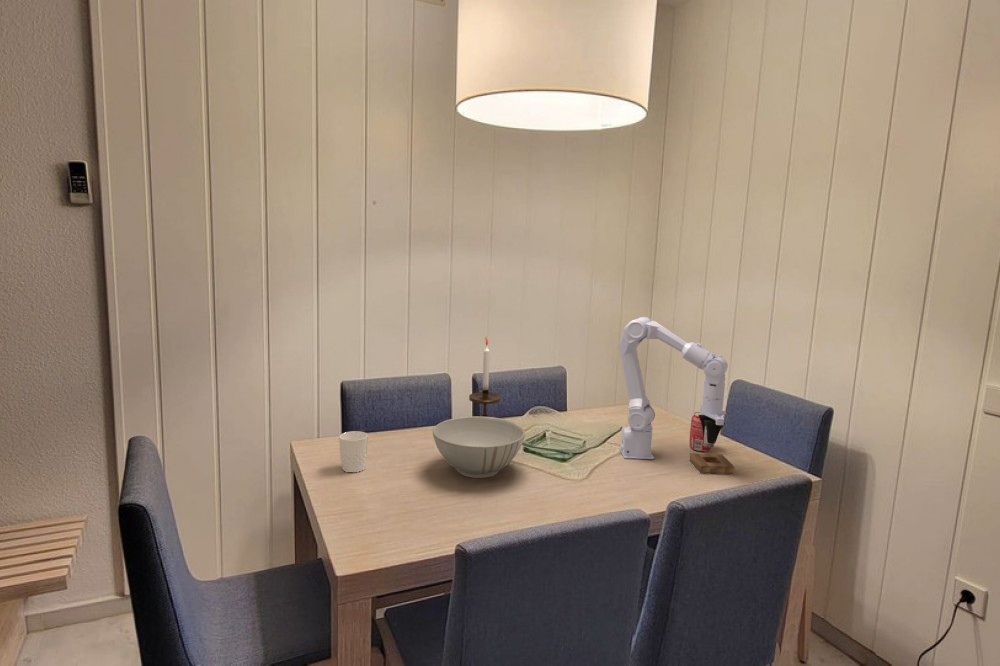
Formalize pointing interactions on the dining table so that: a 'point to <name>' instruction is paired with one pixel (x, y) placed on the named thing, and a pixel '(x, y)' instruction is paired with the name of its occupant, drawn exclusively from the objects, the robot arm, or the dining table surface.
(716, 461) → the hole block
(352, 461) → the white cup
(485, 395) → the candlestick
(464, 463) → the decorative bowl
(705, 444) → the pin
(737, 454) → the dining table surface
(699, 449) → the soda can
